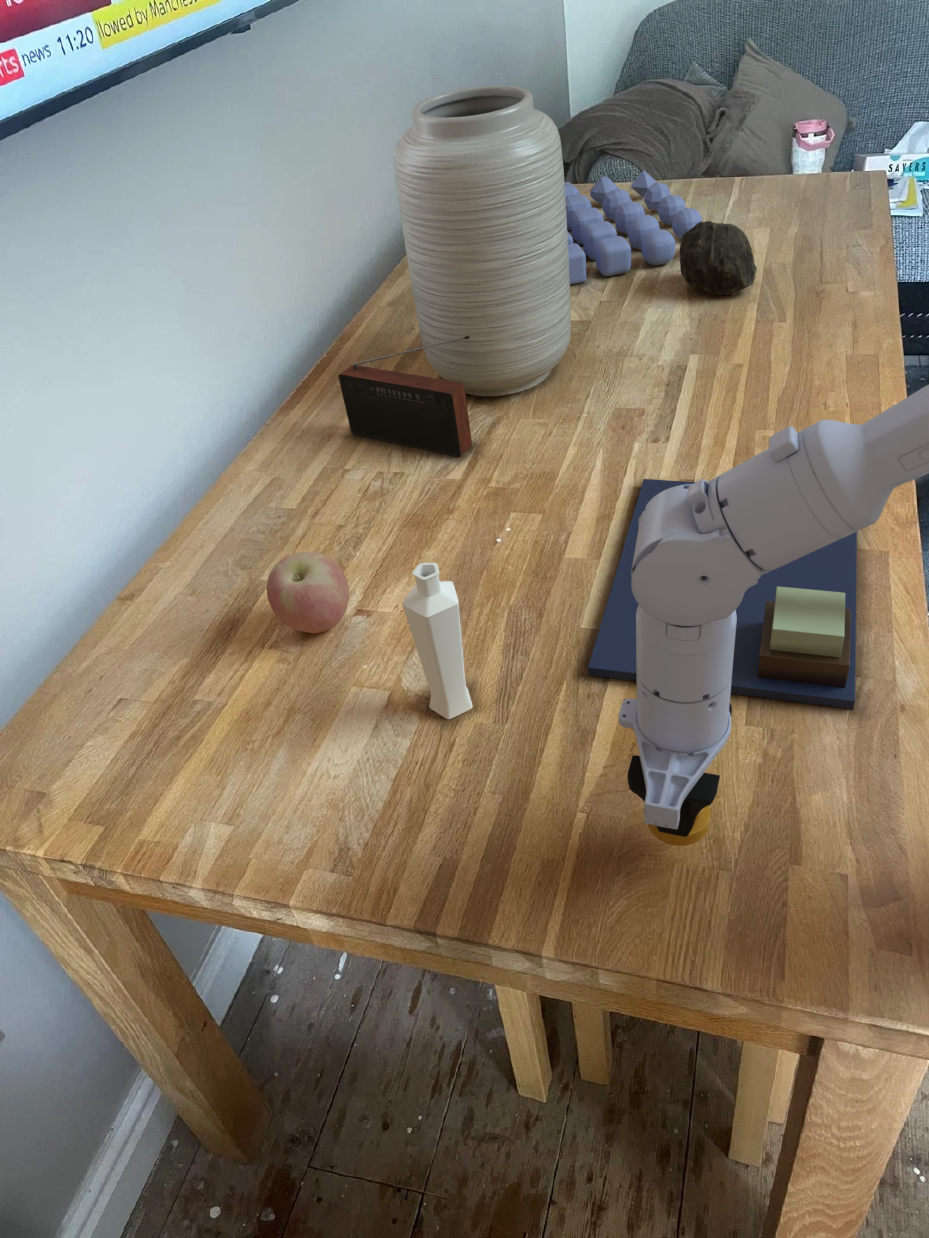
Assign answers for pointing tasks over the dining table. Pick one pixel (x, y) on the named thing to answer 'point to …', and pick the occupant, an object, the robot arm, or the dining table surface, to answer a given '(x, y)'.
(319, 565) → the apple
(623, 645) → the board
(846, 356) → the dining table surface
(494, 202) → the vase
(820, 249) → the dining table surface
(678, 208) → the blocks
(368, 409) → the radio
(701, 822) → the cone
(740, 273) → the rock
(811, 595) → the block stack
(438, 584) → the perfume bottle
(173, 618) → the dining table surface
